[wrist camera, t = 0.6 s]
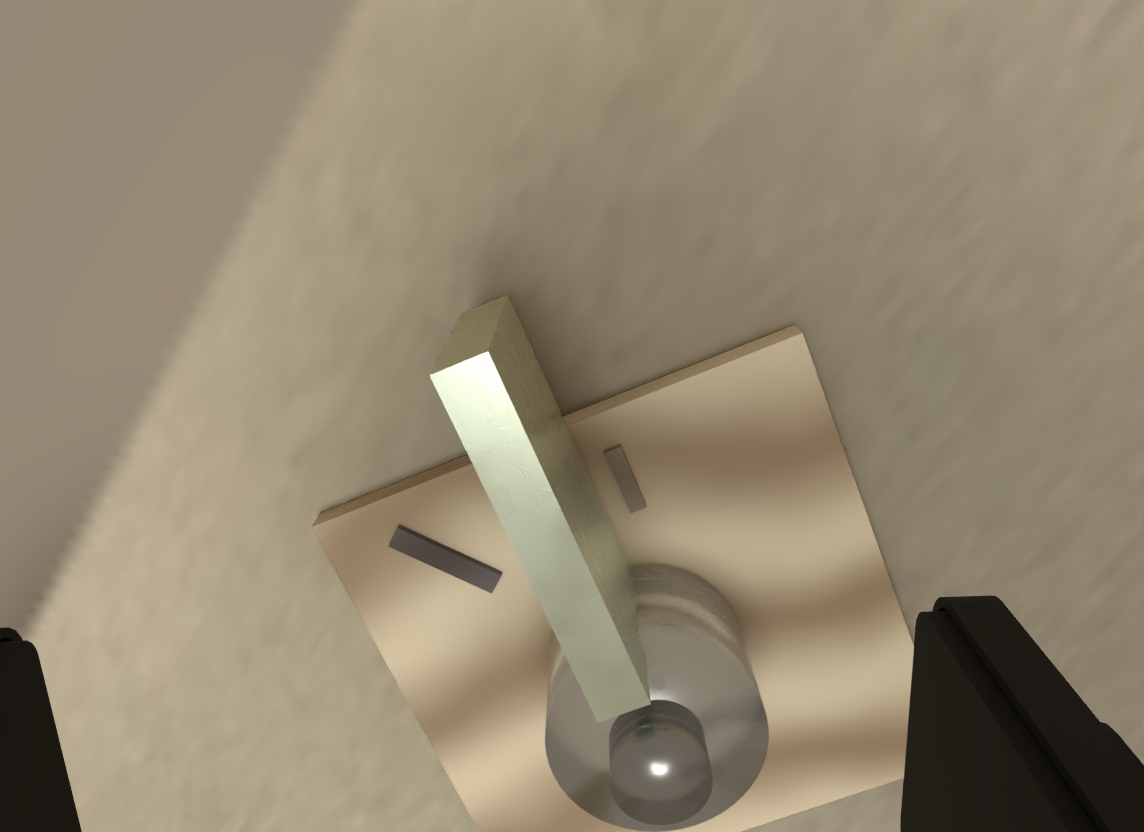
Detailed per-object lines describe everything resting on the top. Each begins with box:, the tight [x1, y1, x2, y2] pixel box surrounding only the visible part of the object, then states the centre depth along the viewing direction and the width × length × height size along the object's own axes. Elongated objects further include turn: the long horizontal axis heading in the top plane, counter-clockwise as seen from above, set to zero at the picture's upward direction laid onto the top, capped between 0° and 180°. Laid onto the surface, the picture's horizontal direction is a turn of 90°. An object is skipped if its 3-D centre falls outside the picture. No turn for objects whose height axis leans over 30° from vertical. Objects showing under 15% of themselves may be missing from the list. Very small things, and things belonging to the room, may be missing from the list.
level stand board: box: [312, 325, 914, 832], centre depth 36 cm, size 18×18×2 cm
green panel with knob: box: [430, 294, 769, 832], centre depth 30 cm, size 18×7×8 cm, turn 23°
